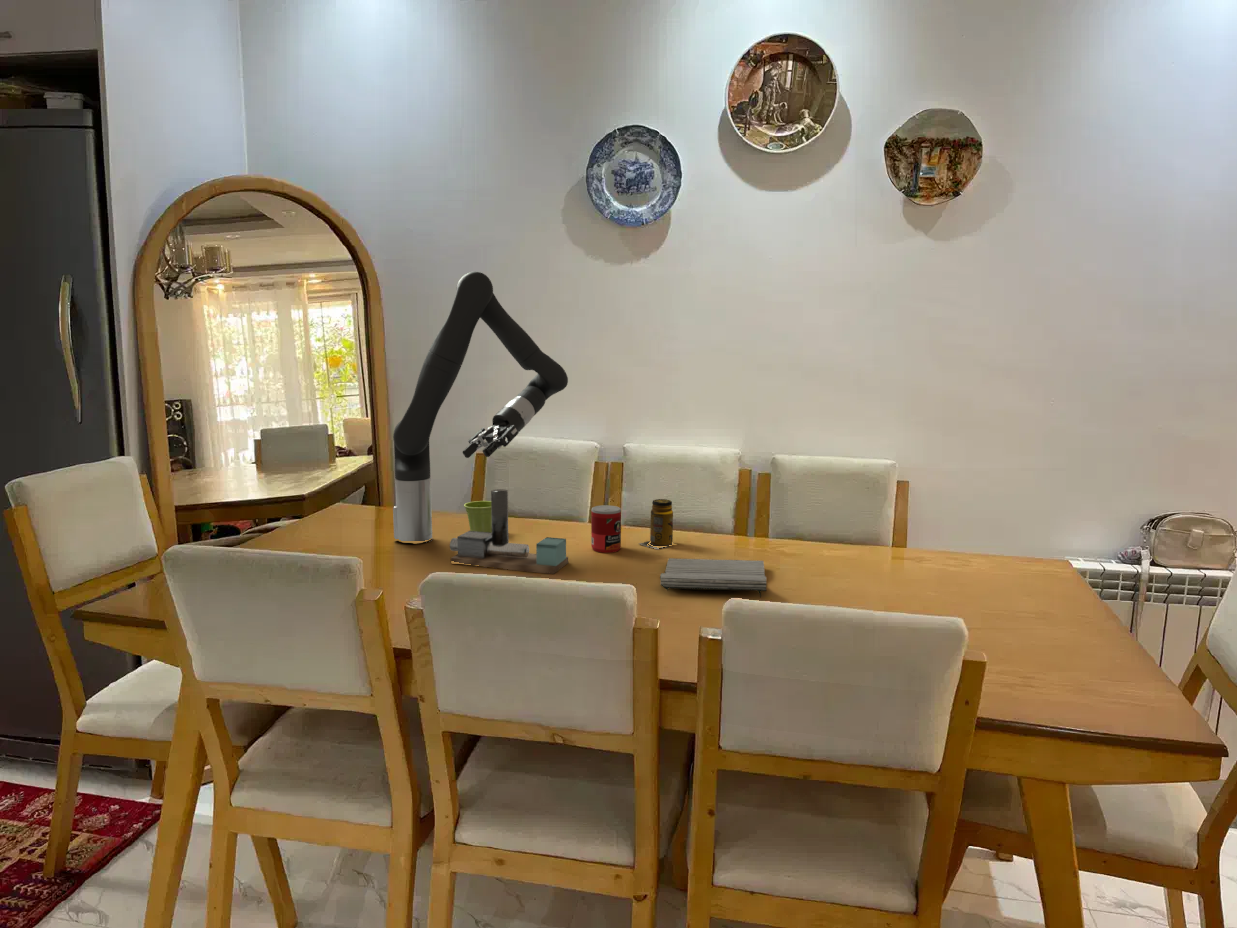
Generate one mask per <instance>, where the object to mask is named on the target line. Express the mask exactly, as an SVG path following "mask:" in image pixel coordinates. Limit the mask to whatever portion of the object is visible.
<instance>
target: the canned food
mask: <svg viewBox="0 0 1237 928" xmlns="http://www.w3.org/2000/svg"><path fill="white" fill-rule="evenodd" d="M590 515H591V516H590V517H591V521H590V522H591V524H590V526H591V528H590V529H591V531H590V532H591V533H590V534H591V536H590V537H591V550H592V551H594V552H596V553H604V554H610V553H611V554H612V553H617V552H619V551H620V550H621V547H622V546H621V545H622V544H621V542H622V541H621V540H622V508H621V507H619V506H617V505H606V504H605V505H604V504H603V505H596V506H593V507H592V508H591V514H590Z"/></svg>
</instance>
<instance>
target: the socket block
mask: <svg viewBox="0 0 1237 928" xmlns="http://www.w3.org/2000/svg"><path fill="white" fill-rule="evenodd" d="M535 546H536V549H535V551H536V553H535V554H536V561H537V564H539V565H550V566H557V565H558V564H560V563H561V562H562V561H564V560H565V559H566V557H567V538H564V537H563V538H561V537H548V536H546V537H544V538H543V539H541V540H540V541H539V542H537V543H536V545H535Z"/></svg>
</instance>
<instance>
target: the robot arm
mask: <svg viewBox="0 0 1237 928" xmlns="http://www.w3.org/2000/svg"><path fill="white" fill-rule="evenodd" d="M455 293H456V294H455V297H454V299H453V302H452V306H451V308H450V310H449V314H448V315H447V318H446V320H445V321H444V324H443V325H442V327H441V328H440V330H439V331H438V332H437V334H436V336H435V338H434V339H433V342H432V343H431V346H430V348H429V349H428V352H427V354H426V356H425V359H424V361H423V364H422V367H421V369H420V372H419V374H418V378H417V382H416V384H415V389H414V393H413V397H412V399H411V402H410V404H409V406H408V408H407V409H406V411H405V413H404V415H403V417H402V418H401V420H400V421H399V422H398V423H397V424H396V426H395V427H394V431H393V436H392V437H393V447H394V448H393V449H394V451H393V452H394V480H395V481H394V483H395V485H394V486H395V505H394V506H393V508H392V514H393V515H392V516H393V517H392V518H393V519H392V521H393V538H395V539H399V540H401V541H425V540H429V539H431V538H432V539H433V517H432V513H433V511H432V486H431V481H432V479H431V458H430V456H431V455H430V437H431V434H432V430H433V427H434V425H435V421H436V418H437V416H438V413H439V411H440V409H441V407H442V405H443V404H444V401H445V400H446V398H447V397H448V394H449V393H450V391H451V389H452V387H453V385H454V384H455V382H456V380H457V377H458V374H459V372H460V370H461V368H462V366H463V363H464V360H465V358H466V355H467V352H468V349H469V348H470V347H469V346H470V343H471V341H472V337H473V335H474V330H475V328H476V326H477V323H478V322H479V321H480V319H481V320H482V321H483V322H484V323H485V324H486V325H487V326H488V327H489V328H490V330H491V331H492V333H494V335H495V336H496V337H497V339H498V340H499V341H500V342H501V343H502V345H503V346H504V348H506V350H507V351H508V352H509V354H510V355H511V356H512V357H513V358H514V360H515V361H516V363H518V365H519V366H520V367H521V368H522V369H523V370H525V371H533V372H535V373H536V375H535V376H534V377H533V378H532V379H531V380H530V381H529V382H528V384H526V386H525V387H524V389H522V390H521V391H520V392H519V393H518V394H517V395H516V396H515V397H514V398H512V399H510V400H509V401H508V402H507V403H506V404H505V405H504V406H502V407H501V409H499V411H498V412H497V413H495V414H494V415H493V417H492V426H491V425H490V426H489V427H487V428H486V429H485V427H481V428H480V429H479V430H478V431H477V432H475V434H473V435H472V436H471V438H469V439H468V440H467V442H468V445H467V446H466V447H465V448H464V449H463V450H462V454H463V456H464V457H465V458H466V459H469V458H470V457H471V456H473V455H474V454H475V453H476V451H478V450H479V449H481V448H482V447H484V448H483V449H482V454H483V455H484V456H485V458H489V457H491V455H493V453H494V452H496V451H497V450H498V449H501V448H502V447H504V448H505V447H507V446H508V445H509V444H510V443H511V442H512V441H513V440H514V439H515V438H516V437H517V436H518V434H520V432H521V431H522V430H523V429H524V428H525V427H526V426H527V425H528V424H529V423H530V422H531V420H532V419H533V418H534V416H536V415H537V414H538V412H540V411H541V410H542V408H543V407H544V406H545V403H546V401H547V400H548V399H549V398H550V397H551V396H553V395H556V394H557V393H560V392H561V391H563V390H564V389H565V388H566V387H567V385H568V383H569V377H568V375H567V371H565V369H564V368H563V366H561V365H560V364H559V363H558V362H557V361H555V360H554V359H553V358H551V356H549V355H547V354H546V353H545V352H543V351H542V350H541V348H540V347H539V346H538V344H537V343H536V342H535V341H534V339H533V338H532V337H530V335H529V334H528V333H527V332H526V330H525V329H524V328H522V326H520V324H518V323H517V322H516V320H514V319H513V318H512V316H511V315H510V314H509V313H508V312H507V311H506V310H505V309H504V307H503V306H502V304H501V303H500V302H499V300H498V298H497V297H496V295H495V294H494V286H493V283H492V280H490V277H488V276H487V275H486V274H485V273H483V272H481V271H470V272H468V273H464V275H462V277H460V279H459V280H458V282H457V285H456V292H455Z"/></svg>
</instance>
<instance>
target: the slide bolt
mask: <svg viewBox="0 0 1237 928" xmlns="http://www.w3.org/2000/svg"><path fill="white" fill-rule="evenodd" d="M508 492H509V491H508V489H501V488H500V489H499V488H495V489H492V490H490V501H491V513H492V541H485V554H492V555H503V556H514V557H524V558H527V557H528V554H529V553H530V546H529V544H526V543H515V542H514V543H512V542H509V500H508V499H509V497H508V496H509V494H508ZM449 549H450V551H452V552H458V542H457V537H453V538H451V539H450V542H449Z"/></svg>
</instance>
